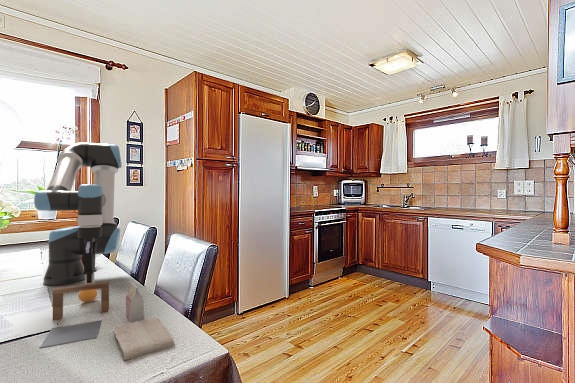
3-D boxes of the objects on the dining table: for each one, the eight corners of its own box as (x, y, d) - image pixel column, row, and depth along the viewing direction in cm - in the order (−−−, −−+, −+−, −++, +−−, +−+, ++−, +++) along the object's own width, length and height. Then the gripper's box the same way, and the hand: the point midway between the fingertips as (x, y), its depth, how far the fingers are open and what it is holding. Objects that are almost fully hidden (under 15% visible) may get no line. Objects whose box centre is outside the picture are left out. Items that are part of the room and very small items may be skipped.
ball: (80, 288, 108) (78, 286, 103) (98, 286, 110) (96, 284, 106) (79, 304, 106) (76, 303, 101) (97, 301, 108) (96, 300, 104)
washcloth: (156, 323, 90) (156, 313, 90) (176, 348, 76) (176, 335, 76) (111, 335, 82) (111, 324, 82) (123, 364, 68) (123, 351, 68)
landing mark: (52, 328, 85) (52, 328, 85) (101, 320, 90) (101, 320, 90) (39, 348, 74) (39, 347, 74) (96, 337, 80) (96, 337, 80)
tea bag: (138, 313, 96) (138, 281, 96) (143, 319, 91) (144, 287, 91) (125, 315, 94) (126, 284, 94) (130, 323, 89) (130, 289, 89)
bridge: (55, 317, 93) (55, 287, 93) (109, 309, 99) (109, 281, 99) (52, 320, 90) (52, 290, 90) (108, 312, 97) (108, 283, 97)
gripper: (81, 225, 114) (80, 288, 113) (74, 228, 102) (73, 298, 102) (103, 224, 117) (103, 285, 117) (100, 227, 106) (99, 294, 105)
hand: (89, 291), depth 109 cm, fingers closed
